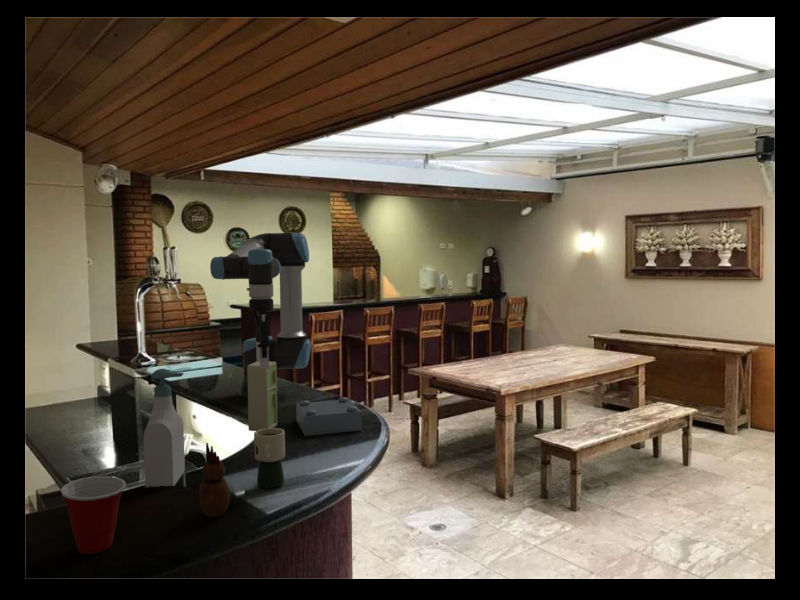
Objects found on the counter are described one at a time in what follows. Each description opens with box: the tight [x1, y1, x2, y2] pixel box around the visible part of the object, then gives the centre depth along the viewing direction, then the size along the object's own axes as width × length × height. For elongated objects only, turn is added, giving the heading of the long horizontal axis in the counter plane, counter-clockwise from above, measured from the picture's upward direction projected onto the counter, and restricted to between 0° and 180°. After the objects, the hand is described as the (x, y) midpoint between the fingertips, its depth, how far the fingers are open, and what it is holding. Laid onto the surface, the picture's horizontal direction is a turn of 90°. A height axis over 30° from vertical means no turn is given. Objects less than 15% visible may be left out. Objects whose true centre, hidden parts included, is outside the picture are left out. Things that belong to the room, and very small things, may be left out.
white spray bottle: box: [142, 368, 186, 488], centre depth 145 cm, size 11×8×27 cm
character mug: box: [253, 427, 286, 489], centre depth 140 cm, size 11×7×13 cm, turn 4°
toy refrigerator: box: [247, 361, 278, 432], centre depth 189 cm, size 8×7×21 cm
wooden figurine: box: [198, 442, 231, 518], centre depth 124 cm, size 7×6×15 cm
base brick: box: [295, 396, 363, 437], centre depth 191 cm, size 18×18×7 cm
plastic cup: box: [60, 475, 127, 555], centre depth 110 cm, size 11×11×12 cm
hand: (262, 364), depth 188 cm, fingers open, 13 cm apart
